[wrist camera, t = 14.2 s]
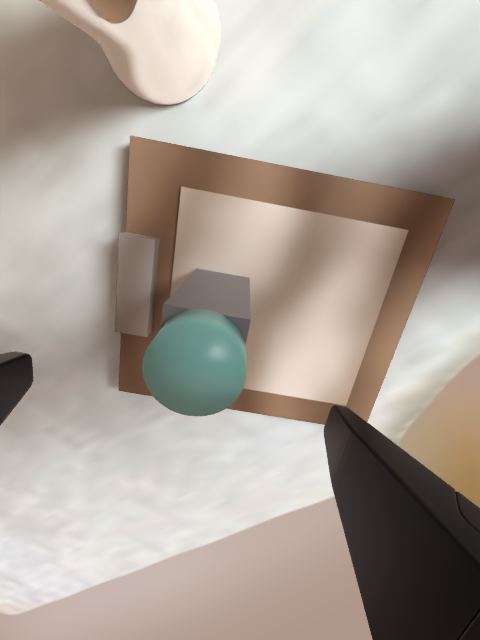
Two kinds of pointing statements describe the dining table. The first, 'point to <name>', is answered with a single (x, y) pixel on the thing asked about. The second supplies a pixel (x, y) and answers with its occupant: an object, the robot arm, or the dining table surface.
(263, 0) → the dining table surface
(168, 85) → the metal tumbler
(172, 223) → the wooden tray
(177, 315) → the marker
